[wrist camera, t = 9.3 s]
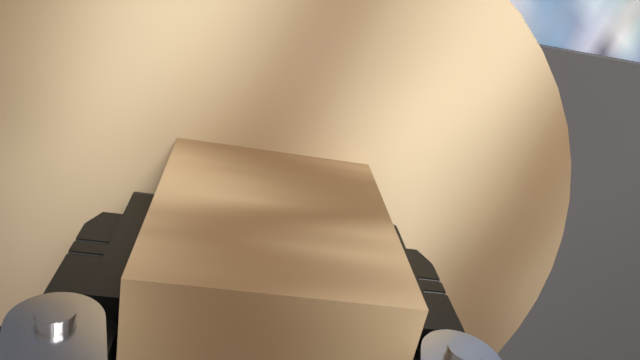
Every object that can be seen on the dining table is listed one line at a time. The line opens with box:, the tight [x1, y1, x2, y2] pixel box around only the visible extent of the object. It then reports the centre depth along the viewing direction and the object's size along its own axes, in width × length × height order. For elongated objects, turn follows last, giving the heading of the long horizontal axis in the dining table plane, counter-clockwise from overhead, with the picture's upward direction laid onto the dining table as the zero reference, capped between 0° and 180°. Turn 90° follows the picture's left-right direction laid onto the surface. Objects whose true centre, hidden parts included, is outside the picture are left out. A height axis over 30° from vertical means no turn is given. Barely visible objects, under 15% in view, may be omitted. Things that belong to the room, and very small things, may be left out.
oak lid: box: [0, 0, 571, 360], centre depth 11 cm, size 14×14×6 cm
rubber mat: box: [497, 44, 640, 360], centre depth 24 cm, size 14×14×1 cm
